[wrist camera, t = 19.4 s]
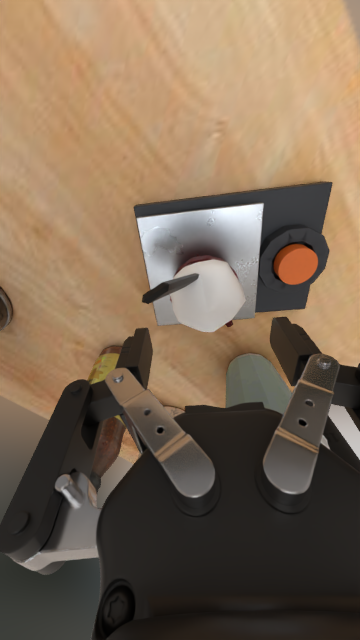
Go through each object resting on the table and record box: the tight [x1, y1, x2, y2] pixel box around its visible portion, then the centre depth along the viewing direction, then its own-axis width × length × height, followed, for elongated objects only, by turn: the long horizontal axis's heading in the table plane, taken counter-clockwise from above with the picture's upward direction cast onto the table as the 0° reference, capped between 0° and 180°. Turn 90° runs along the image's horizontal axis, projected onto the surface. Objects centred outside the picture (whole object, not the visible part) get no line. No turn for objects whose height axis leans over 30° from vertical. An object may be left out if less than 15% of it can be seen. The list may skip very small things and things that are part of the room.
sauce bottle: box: [87, 346, 126, 493], centre depth 26 cm, size 6×6×20 cm
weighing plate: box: [136, 202, 264, 326], centre depth 23 cm, size 11×12×1 cm
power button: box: [273, 244, 318, 285], centre depth 22 cm, size 4×4×2 cm
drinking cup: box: [323, 416, 360, 472], centre depth 31 cm, size 8×8×20 cm
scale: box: [134, 182, 332, 316], centre depth 24 cm, size 18×13×3 cm
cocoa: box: [142, 255, 246, 332], centre depth 18 cm, size 10×6×12 cm, turn 14°
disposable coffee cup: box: [226, 353, 330, 449], centre depth 28 cm, size 11×11×15 cm
